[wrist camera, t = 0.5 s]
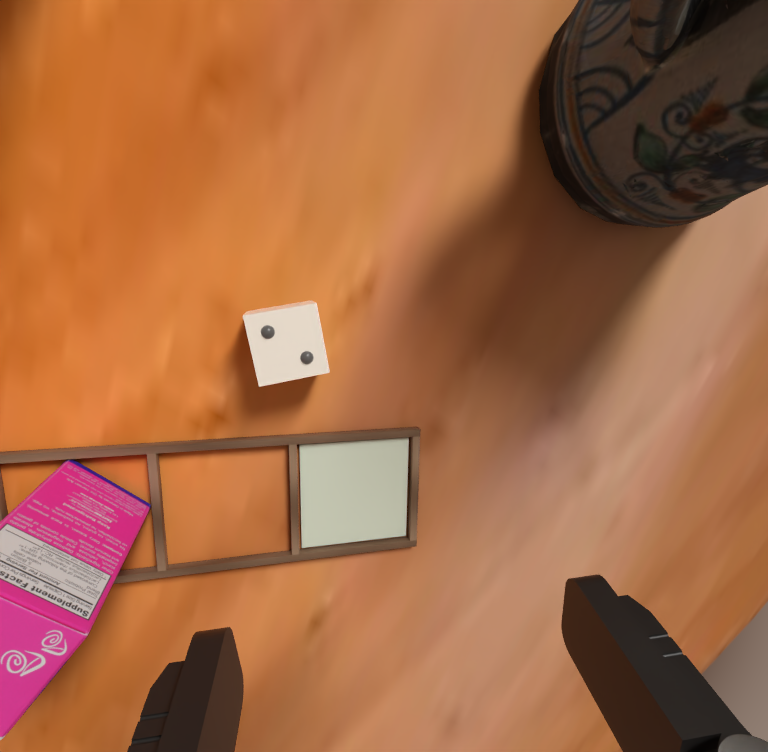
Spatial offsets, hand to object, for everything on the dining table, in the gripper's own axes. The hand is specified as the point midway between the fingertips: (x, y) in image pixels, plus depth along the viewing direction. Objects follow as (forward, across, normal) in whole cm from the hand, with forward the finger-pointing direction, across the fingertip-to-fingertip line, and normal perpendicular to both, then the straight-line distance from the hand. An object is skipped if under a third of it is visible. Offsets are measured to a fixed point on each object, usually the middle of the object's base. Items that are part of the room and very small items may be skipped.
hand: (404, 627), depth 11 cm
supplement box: (+18, +18, +8) cm, 26 cm away
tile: (+19, +1, +9) cm, 21 cm away
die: (+21, +4, -2) cm, 21 cm away
